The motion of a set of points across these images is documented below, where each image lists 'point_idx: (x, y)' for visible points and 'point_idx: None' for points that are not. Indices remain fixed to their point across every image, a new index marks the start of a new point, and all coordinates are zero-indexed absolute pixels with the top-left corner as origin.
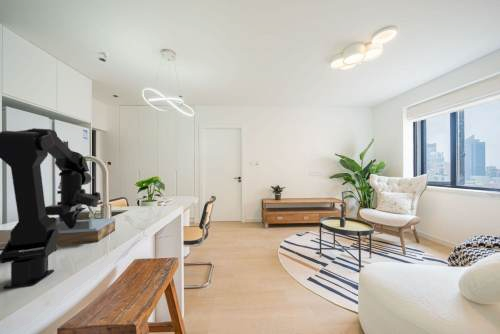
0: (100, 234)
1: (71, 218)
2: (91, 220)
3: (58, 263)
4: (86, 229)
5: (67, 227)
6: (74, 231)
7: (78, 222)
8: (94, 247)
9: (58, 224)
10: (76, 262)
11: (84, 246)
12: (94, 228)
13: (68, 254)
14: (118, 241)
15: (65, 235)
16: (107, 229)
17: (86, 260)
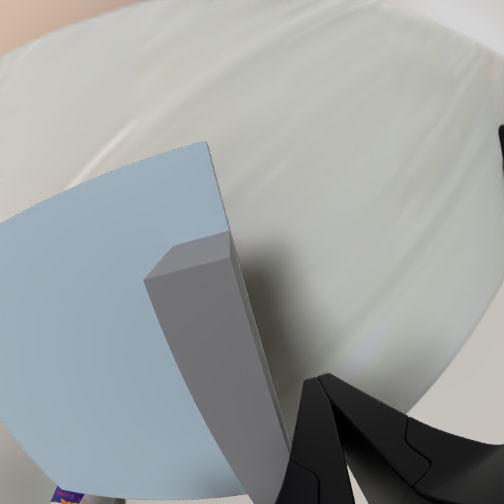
0: None
1: (442, 436)
2: (153, 274)
3: (461, 167)
4: (237, 260)
5: (287, 439)
6: (267, 364)
7: (273, 401)
8: (284, 119)
9: None
10: (448, 88)
11: (267, 213)
12: (212, 165)
13: (386, 208)
14: (172, 35)
15: None
16: None
17: (429, 56)
